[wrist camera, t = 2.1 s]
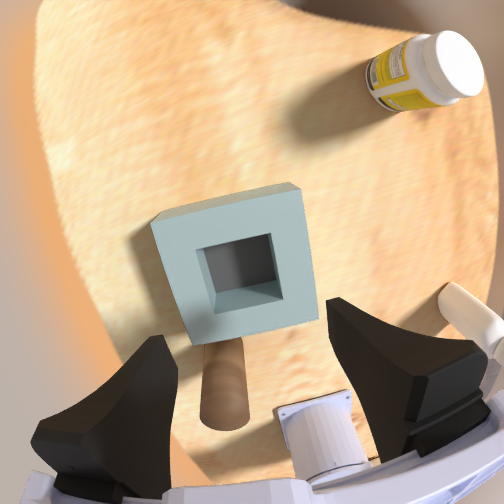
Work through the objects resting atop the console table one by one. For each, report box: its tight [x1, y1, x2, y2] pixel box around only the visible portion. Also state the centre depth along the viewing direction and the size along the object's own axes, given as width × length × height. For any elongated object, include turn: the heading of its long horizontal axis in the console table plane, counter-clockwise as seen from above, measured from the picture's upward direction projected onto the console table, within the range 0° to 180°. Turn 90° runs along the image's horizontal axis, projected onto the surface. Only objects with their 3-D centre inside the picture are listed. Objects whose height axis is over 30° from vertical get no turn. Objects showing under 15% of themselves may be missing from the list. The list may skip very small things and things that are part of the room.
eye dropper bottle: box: [438, 282, 504, 368], centre depth 19 cm, size 4×6×12 cm
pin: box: [200, 337, 250, 431], centre depth 20 cm, size 3×3×8 cm
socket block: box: [150, 182, 319, 346], centre depth 20 cm, size 9×9×4 cm
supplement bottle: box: [365, 31, 484, 112], centre depth 14 cm, size 5×5×8 cm
